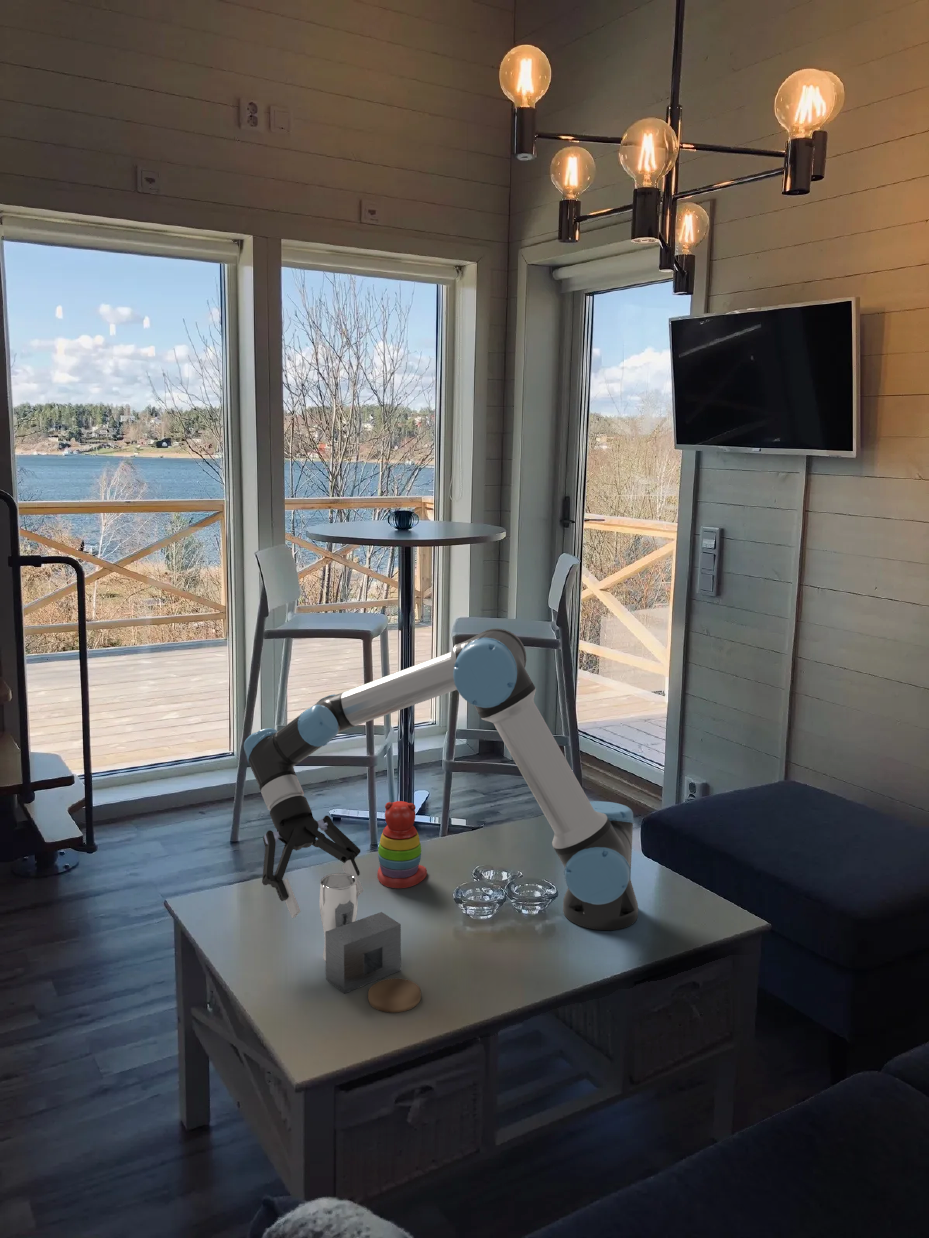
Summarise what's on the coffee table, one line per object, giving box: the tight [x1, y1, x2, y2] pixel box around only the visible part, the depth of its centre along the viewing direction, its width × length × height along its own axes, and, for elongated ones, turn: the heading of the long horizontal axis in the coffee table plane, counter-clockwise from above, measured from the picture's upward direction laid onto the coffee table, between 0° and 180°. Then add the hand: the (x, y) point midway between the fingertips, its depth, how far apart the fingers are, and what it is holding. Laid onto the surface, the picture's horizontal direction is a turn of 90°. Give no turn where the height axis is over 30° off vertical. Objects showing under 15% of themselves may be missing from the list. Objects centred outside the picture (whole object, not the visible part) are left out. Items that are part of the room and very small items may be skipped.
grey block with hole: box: [324, 911, 402, 994], centre depth 173 cm, size 6×12×9 cm, turn 130°
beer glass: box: [319, 872, 359, 963], centre depth 179 cm, size 7×7×15 cm
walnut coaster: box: [367, 977, 422, 1014], centre depth 166 cm, size 9×9×1 cm
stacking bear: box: [376, 800, 428, 889], centre depth 211 cm, size 11×10×18 cm
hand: (328, 904), depth 180 cm, fingers open, 13 cm apart
